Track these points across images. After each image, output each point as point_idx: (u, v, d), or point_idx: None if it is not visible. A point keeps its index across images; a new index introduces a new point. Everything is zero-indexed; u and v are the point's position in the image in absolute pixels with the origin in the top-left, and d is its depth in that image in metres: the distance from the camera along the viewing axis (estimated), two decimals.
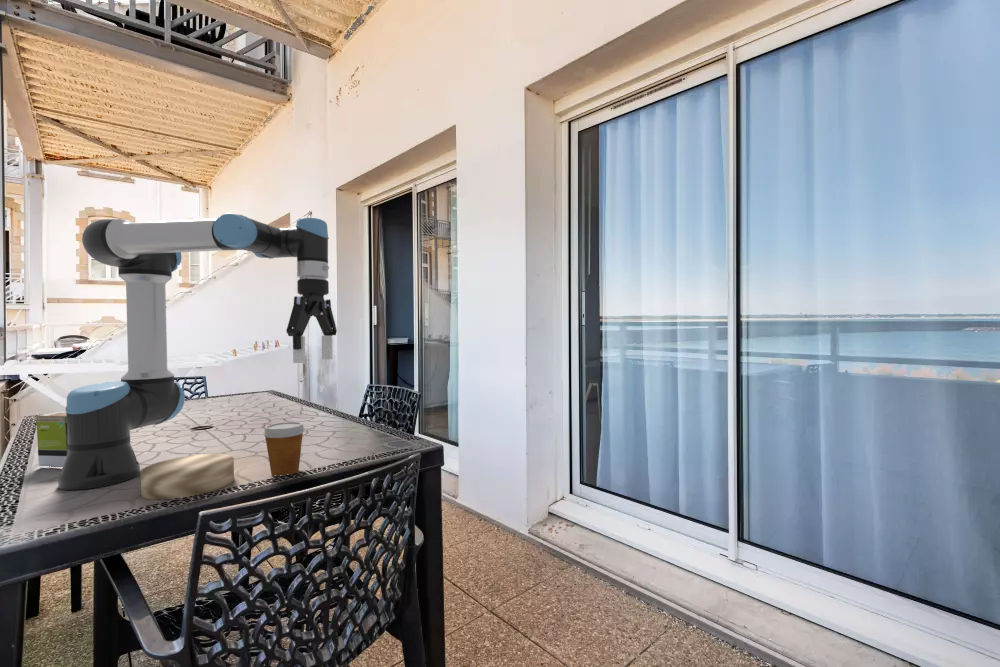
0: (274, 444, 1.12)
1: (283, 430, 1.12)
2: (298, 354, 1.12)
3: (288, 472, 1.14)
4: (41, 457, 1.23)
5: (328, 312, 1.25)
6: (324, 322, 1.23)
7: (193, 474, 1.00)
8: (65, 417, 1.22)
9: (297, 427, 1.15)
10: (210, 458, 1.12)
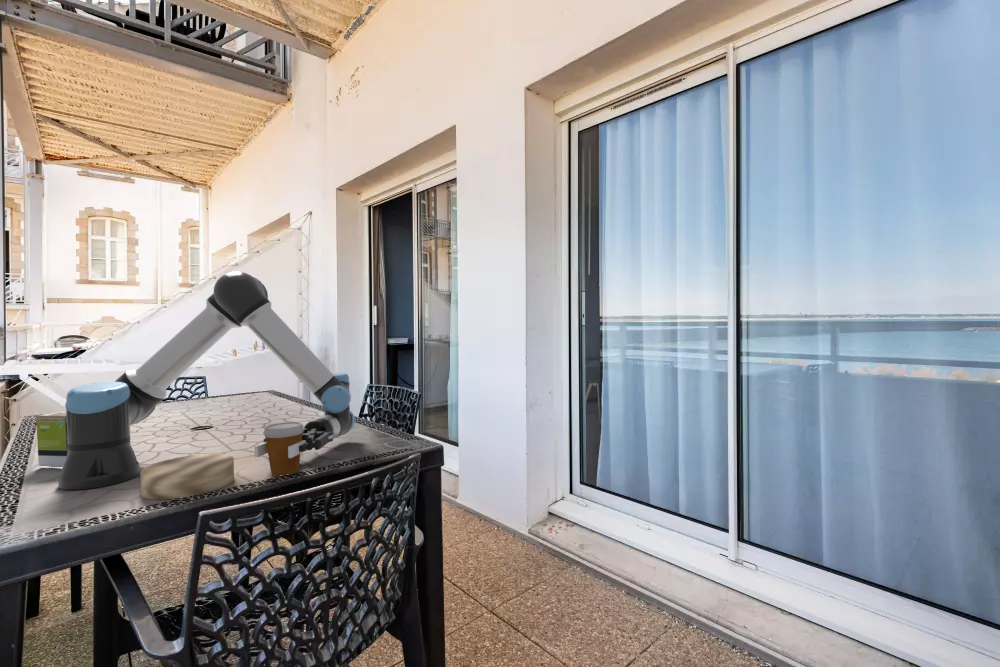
0: (274, 444, 1.12)
1: (283, 430, 1.12)
2: (296, 450, 1.13)
3: (288, 472, 1.14)
4: (41, 457, 1.23)
5: None
6: None
7: (193, 474, 1.00)
8: (65, 417, 1.22)
9: (297, 427, 1.15)
10: (210, 458, 1.12)
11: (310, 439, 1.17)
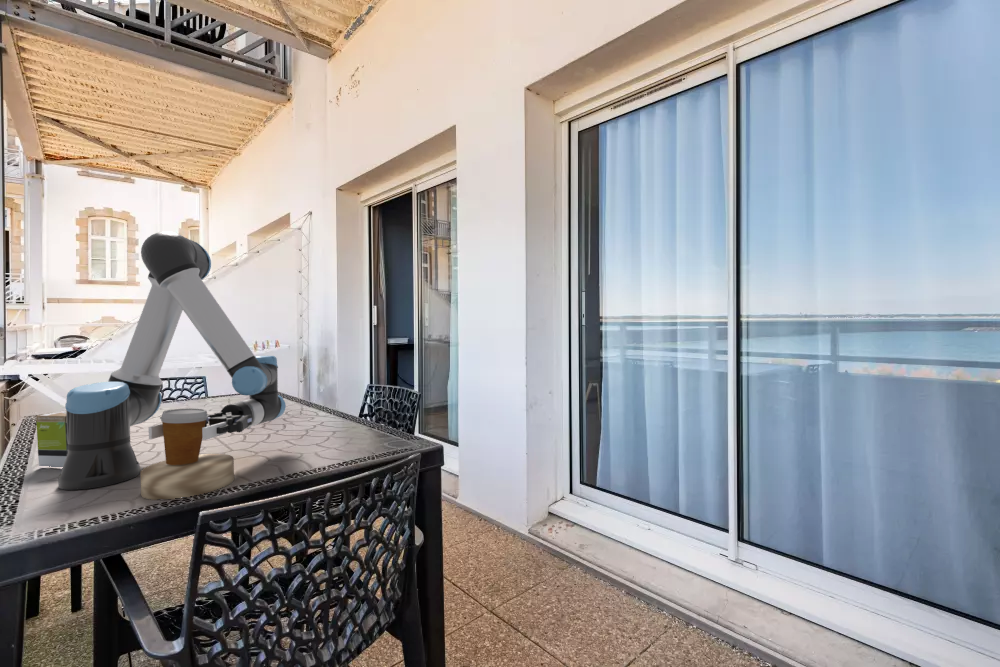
0: (169, 430, 1.05)
1: (180, 415, 1.05)
2: (212, 432, 1.05)
3: (183, 461, 1.06)
4: (41, 457, 1.23)
5: None
6: None
7: (193, 474, 1.00)
8: (65, 417, 1.22)
9: (198, 414, 1.08)
10: (210, 458, 1.12)
11: (232, 421, 1.10)
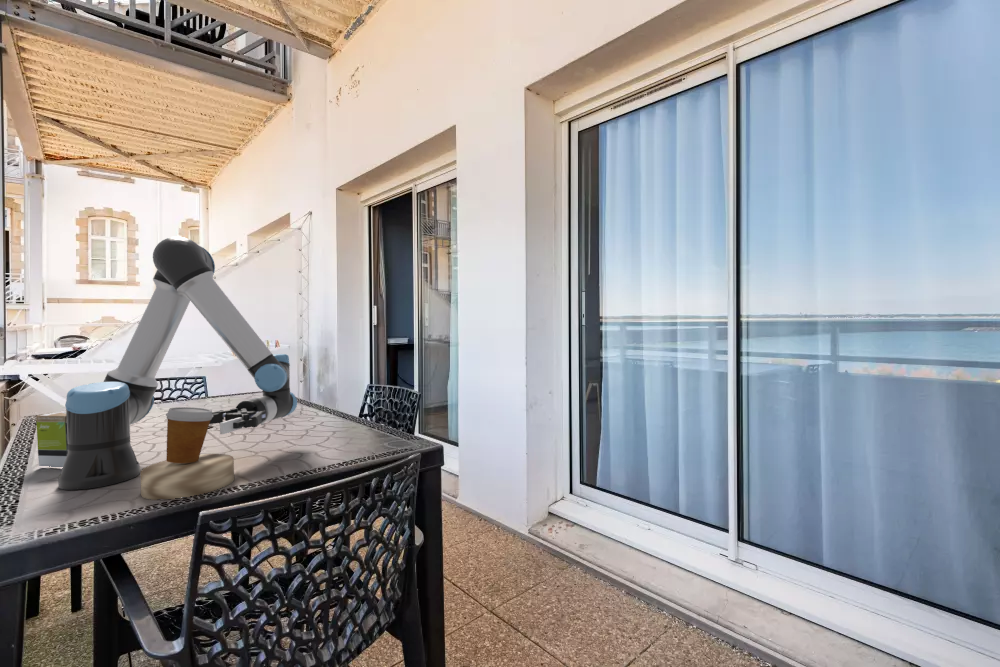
0: (174, 427, 1.06)
1: (186, 413, 1.06)
2: (229, 426, 1.10)
3: (184, 460, 1.06)
4: (41, 457, 1.23)
5: None
6: (211, 422, 1.19)
7: (193, 474, 1.00)
8: (65, 417, 1.22)
9: (203, 413, 1.08)
10: (210, 458, 1.12)
11: (247, 416, 1.14)
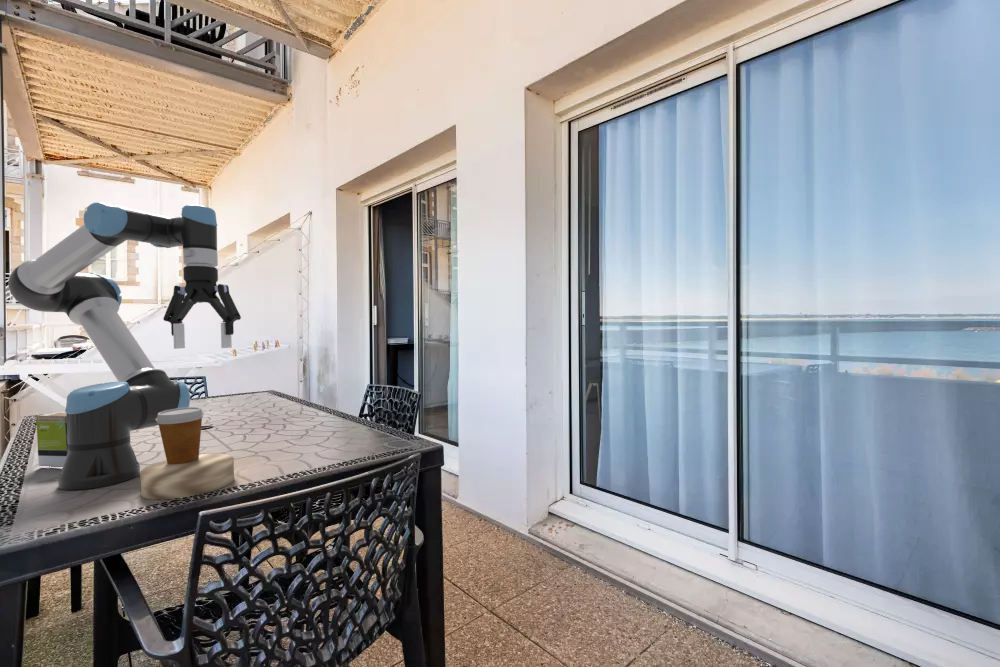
0: (163, 431, 1.06)
1: (171, 416, 1.06)
2: None
3: (180, 460, 1.08)
4: (41, 458, 1.23)
5: None
6: None
7: (193, 474, 1.00)
8: (65, 417, 1.22)
9: (188, 413, 1.08)
10: (210, 458, 1.12)
11: None
